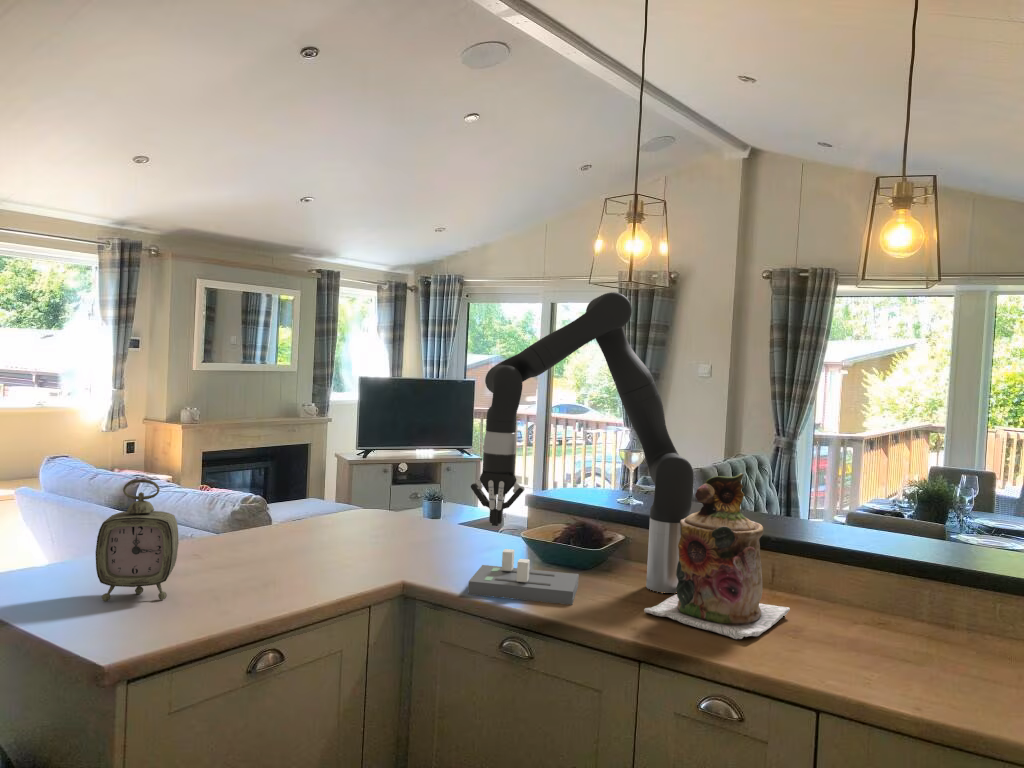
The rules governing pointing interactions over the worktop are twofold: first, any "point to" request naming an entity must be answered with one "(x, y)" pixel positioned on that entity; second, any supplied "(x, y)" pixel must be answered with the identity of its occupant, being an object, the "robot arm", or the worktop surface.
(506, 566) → the block
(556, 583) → the slider control panel
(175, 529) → the tabletop clock
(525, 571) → the block
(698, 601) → the cookie jar
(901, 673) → the worktop surface
